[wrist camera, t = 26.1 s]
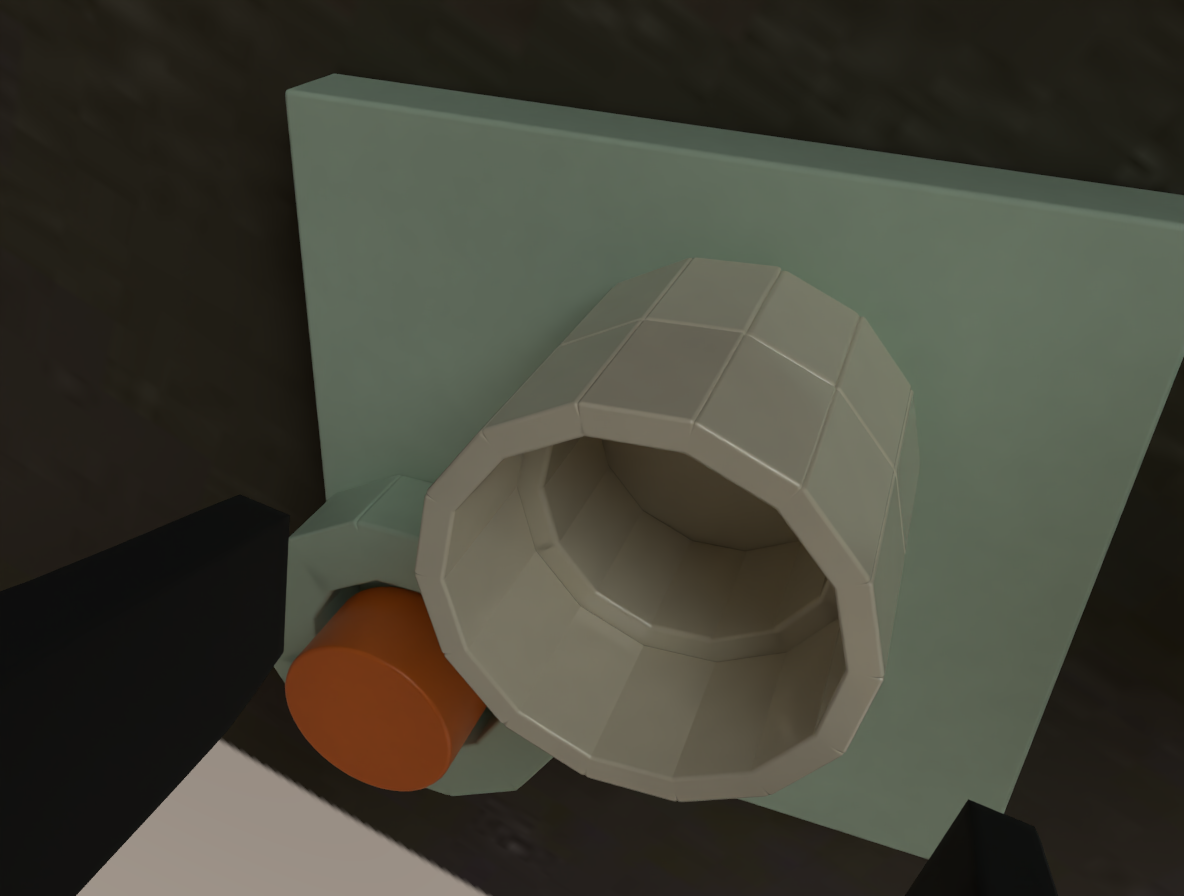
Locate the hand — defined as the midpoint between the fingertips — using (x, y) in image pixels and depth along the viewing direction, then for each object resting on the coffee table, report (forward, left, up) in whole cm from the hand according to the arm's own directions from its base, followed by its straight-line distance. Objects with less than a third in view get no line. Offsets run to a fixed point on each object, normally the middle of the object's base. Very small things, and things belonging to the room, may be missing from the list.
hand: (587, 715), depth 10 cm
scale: (-1, -2, -8) cm, 8 cm away
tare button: (-5, -6, -5) cm, 9 cm away
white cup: (0, 0, -6) cm, 6 cm away
